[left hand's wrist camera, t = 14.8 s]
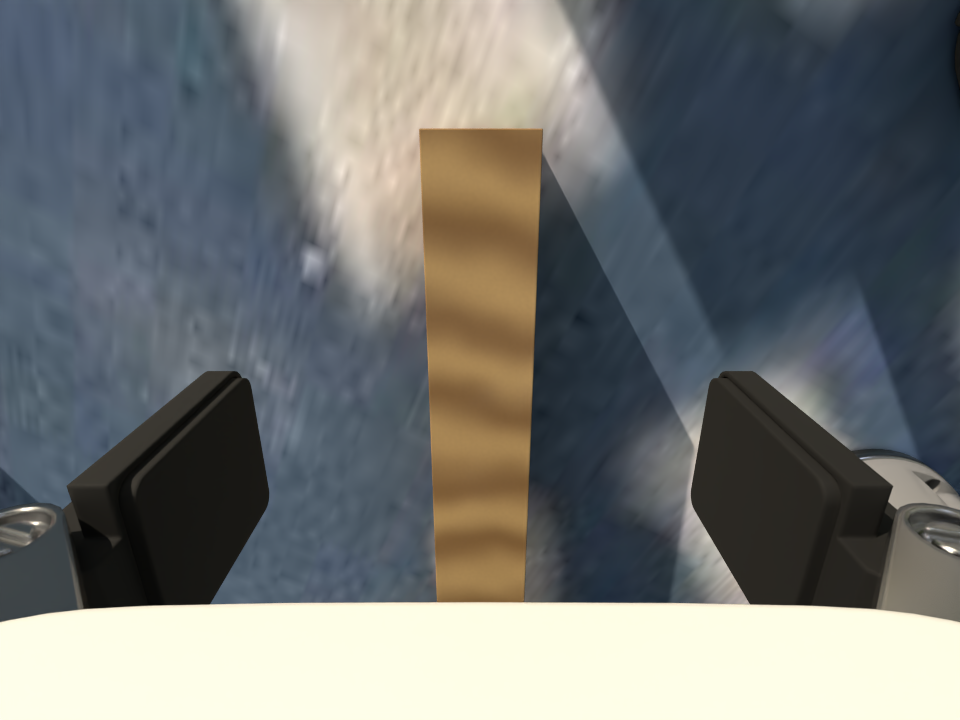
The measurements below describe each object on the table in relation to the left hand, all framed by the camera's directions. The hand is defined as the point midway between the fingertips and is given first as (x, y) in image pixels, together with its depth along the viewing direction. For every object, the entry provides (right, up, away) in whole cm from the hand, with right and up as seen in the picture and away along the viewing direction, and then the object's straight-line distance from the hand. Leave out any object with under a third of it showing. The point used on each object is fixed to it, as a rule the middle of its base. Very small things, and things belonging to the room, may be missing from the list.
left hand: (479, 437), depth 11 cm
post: (0, -14, +34) cm, 37 cm away
